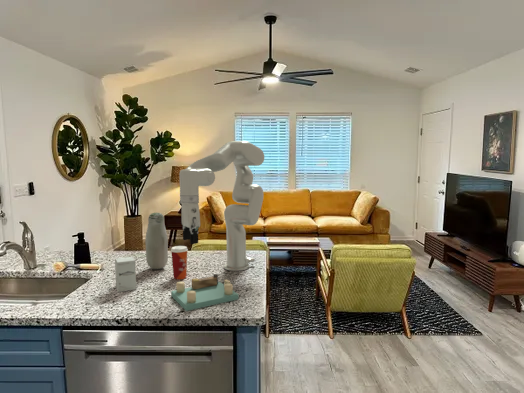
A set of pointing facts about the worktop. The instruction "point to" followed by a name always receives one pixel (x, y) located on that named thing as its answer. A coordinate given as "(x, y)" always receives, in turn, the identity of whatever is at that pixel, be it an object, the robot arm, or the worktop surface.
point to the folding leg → (205, 282)
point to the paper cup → (179, 261)
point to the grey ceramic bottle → (156, 242)
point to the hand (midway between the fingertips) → (190, 241)
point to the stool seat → (203, 295)
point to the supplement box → (125, 274)
